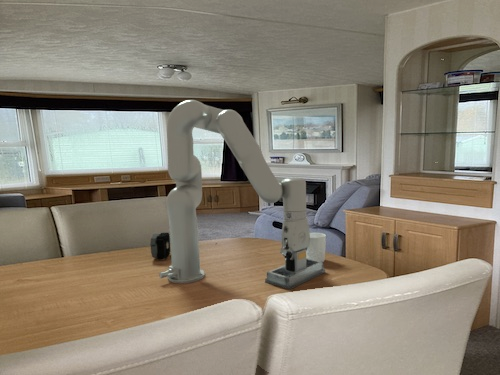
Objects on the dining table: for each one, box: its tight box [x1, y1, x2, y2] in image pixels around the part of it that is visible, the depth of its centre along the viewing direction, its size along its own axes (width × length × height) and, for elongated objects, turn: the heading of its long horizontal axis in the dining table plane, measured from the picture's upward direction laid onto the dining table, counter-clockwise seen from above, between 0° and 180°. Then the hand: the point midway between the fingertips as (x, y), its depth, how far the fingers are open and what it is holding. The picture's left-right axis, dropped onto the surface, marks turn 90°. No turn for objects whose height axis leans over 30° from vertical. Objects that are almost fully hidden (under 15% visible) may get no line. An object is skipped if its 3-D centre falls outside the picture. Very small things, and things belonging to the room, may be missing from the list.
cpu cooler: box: [150, 232, 171, 260], centre depth 148 cm, size 10×6×10 cm, turn 178°
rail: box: [264, 257, 326, 290], centre depth 122 cm, size 20×10×4 cm, turn 136°
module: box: [284, 249, 307, 273], centre depth 121 cm, size 5×5×7 cm
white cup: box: [306, 232, 327, 263], centre depth 138 cm, size 8×8×10 cm
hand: (295, 268), depth 121 cm, fingers closed on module, 5 cm apart
